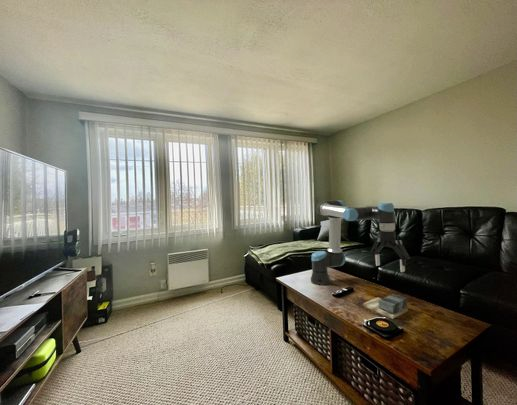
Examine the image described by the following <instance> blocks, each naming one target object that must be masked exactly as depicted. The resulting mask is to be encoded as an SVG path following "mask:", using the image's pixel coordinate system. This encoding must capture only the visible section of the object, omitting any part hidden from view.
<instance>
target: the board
mask: <svg viewBox="0 0 517 405" xmlns="http://www.w3.org/2000/svg"><path fill="white" fill-rule="evenodd" d="M381 299H382V298H381V297H375V298H373V299H370V300H368V301H366V302H363V303H362V304H363V307H365V308H367V309H370V310H372V311H375V312H377V313H379V314H380V315H383V316H386V317H388V318H390V319H391V320H393V319H395V318H398V317H400V316H401V315H404V314H405V313H407V312H409V310H408V308H407V307H405V308H404V309H401V310H400V311H398V312H397V313H395V314H391V313H389V312H387V311H385V310H382V309H380V308H379V300H381Z"/></svg>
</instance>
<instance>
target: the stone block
mask: <svg viewBox="0 0 517 405" xmlns="http://www.w3.org/2000/svg"><path fill="white" fill-rule="evenodd" d="M407 307H408V300H407V297H404V296H403V295H398V294H395V293H391V294H389V295H388V296H385V297H383V298H381V300H379V308H380V309H382V310H385V311H387V312H389V313H391V314H395V313H397V312H398V311H400V310H401V309H404V308H407Z"/></svg>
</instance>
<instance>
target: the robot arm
mask: <svg viewBox="0 0 517 405" xmlns="http://www.w3.org/2000/svg"><path fill="white" fill-rule="evenodd" d="M316 212H317V214H319V215H320V216H324V217H327V218H328V219H329V224H328V225H329V227H328V230H329V231H328V233H329V235H328V236H329V237H328V248H326V251H325V250H319V251H318V250H317V251H315V252H313V253H312V254H311V268H312V270H311V271H312V272H311V276H310V283H312V282H313V283H315V284H314V285H317V284H320V285H319V286H326V284H327V285H329V283H330V284H331V277H330V275H329V272H328V269H329V268H336V267H342V266H344V264H345V263H346V255H345V253H344V252H343V250H342V248H341V234H342V233H341V228H342V227H341V225H342V223H341V222H342V219H344V220H345V221H347V222H355V221H365V220H367V221H368V220H378V223H379V225H378V226H379V227H378V228H379V237H375V238H374V243H373V244H372V247H371V250H370V253H372V254H373V255H374V256H373V258H374V260H375V266H376V267H378V266H380V265H381V259H380V254H379V253H380V251H381V250H382V249H383V248H384V247H385V248H390V249H392V250H394V252H395V254H397V255H398V257H399V258H400V259H399V267H400V269H399V271H400V272H401V273H404V272H405V271H406V266H407V260H410V258H411V257H410V255H409V253H408V251H407V249H406V248H405V245H404V243H403V240H402V239H400V240H396V237H397V236H396V235H397V233H396V231H395V230H396V221H395V219H396V218H395V206H394V204H393V203H392V202H383V203H381V202H380V203H378V205H377V206H363V207H350V206H346V203H345V202H344V201H343V200H341V199H333V200H323V201H320V202H319V203H318V204H317V205H316ZM379 243H380V244H379ZM313 283H312V284H313Z"/></svg>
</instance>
